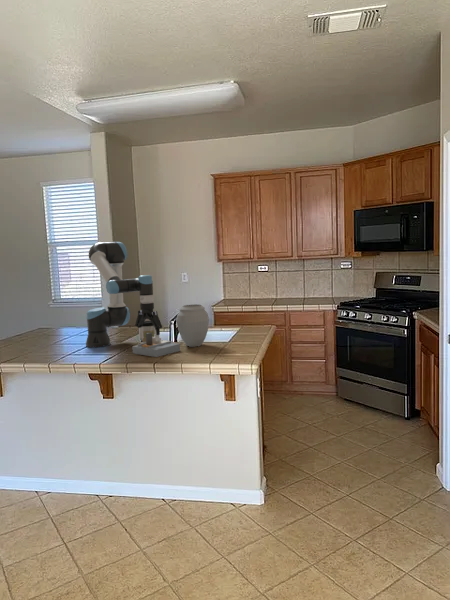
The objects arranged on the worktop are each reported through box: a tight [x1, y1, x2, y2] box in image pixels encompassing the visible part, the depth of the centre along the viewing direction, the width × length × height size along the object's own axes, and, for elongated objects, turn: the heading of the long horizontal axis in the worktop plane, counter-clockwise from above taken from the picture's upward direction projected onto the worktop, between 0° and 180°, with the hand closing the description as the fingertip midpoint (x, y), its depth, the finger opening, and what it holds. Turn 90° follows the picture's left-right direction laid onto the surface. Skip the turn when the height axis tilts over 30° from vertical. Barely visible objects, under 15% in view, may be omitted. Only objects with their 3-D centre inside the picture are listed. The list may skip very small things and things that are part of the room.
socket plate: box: [132, 340, 181, 358], centre depth 264 cm, size 20×18×5 cm
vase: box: [176, 303, 210, 348], centre depth 275 cm, size 20×20×24 cm
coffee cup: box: [141, 320, 155, 343], centre depth 281 cm, size 10×10×15 cm
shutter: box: [152, 336, 169, 344], centre depth 269 cm, size 8×8×4 cm
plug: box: [142, 333, 156, 347], centre depth 263 cm, size 6×6×11 cm
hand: (149, 339), depth 262 cm, fingers open, 13 cm apart
